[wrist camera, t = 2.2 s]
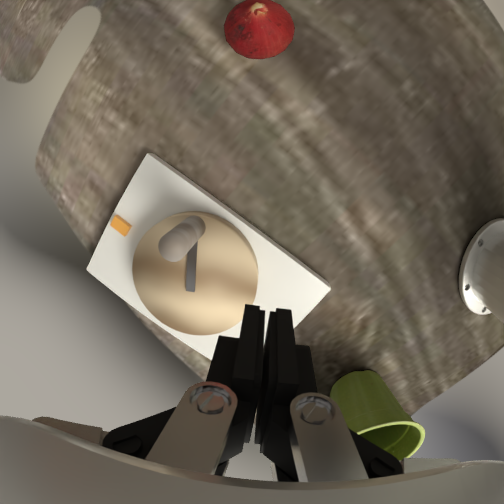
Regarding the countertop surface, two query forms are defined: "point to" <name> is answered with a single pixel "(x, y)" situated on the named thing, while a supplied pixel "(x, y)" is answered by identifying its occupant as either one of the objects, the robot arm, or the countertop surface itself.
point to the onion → (259, 29)
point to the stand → (197, 199)
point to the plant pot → (376, 413)
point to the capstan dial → (195, 273)
